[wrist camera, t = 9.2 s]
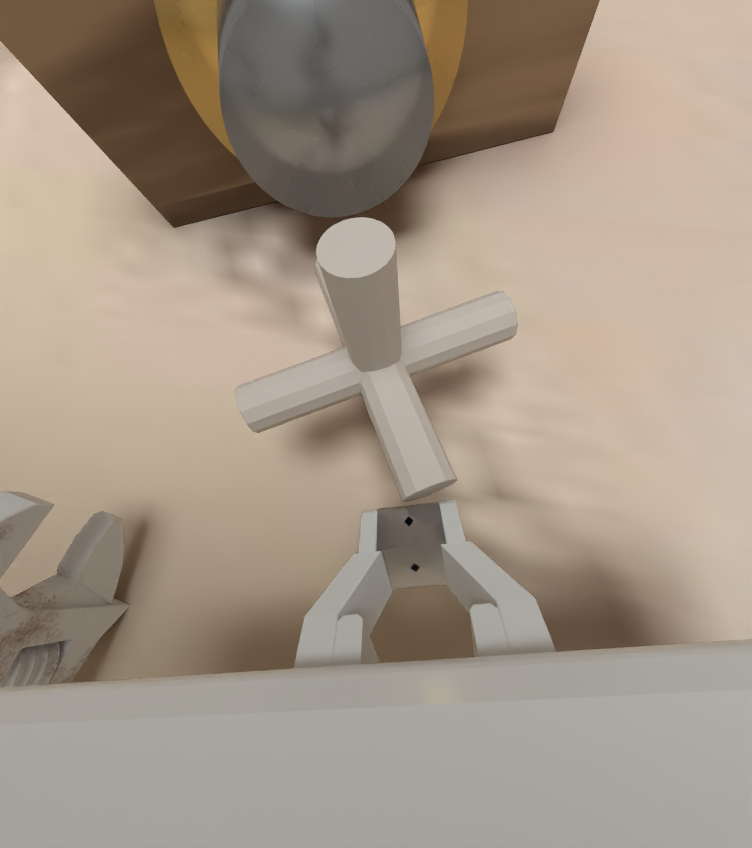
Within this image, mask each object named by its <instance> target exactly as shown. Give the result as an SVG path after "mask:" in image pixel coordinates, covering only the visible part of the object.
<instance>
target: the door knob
mask: <svg viewBox="0 0 752 848" xmlns="http://www.w3.org/2000/svg"><path fill="white" fill-rule="evenodd" d="M154 3H155V8H156V12H157V17H158V22H159V26H160V30H161V33H162V36H163V39H164V42H165V45H166V49H167V52H168V55H169V57H170V59H171V62H172V64H173V67H174V69H175V71H176V74H177V76H178V79H179V81H180V82H181V84H182V86H183V88H184V90H185V92H186V94H187V96H188V98H189V99H190V101H191V103H192V104H193V106H194V107H195V109H196V110H197V112H198V114H199V115H200V117H201V118H202V120H203V121H204V122H205V124H206V125H207V126H208V127H209V129H210V130H211V131H212V132H213V134H214V135H215V136H216V137H217V138H218V140H219V141H220V142H221V143H222V144H223V145H224V146H225V147H226V148H227V149H228V150H229V151H230V152H231V153H232V154H233V155H235V156H236V157H237V158H238V159H239V161H240V163H241V164H242V166H243V167H244V169H245V170H246V171H247V173H248V174H249V175H250V177H251V178H252V179H253V180H254V181H255V182H256V183H257V184H258V185H259V186H260V187H261V188H262V189H263V190H264V191H265V192H266V193H267V194H269V195H270V196H271V197H272V198H274V199H275V200H277V201H279V202H280V203H282V204H283V205H285V206H287V207H289V208H291V209H294V210H296V211H299V212H301V213H305V214H309V215H313V216H319V217H345V216H350V215H355V214H358V213H361V212H364V211H367V210H369V209H371V208H374V207H375V206H377V205H379V204H381V203H382V202H384V201H385V200H387V199H388V198H389V197H391V196H392V195H393V194H394V193H395V192H396V191H397V190H399V189H400V188H401V186H402V185H403V184H404V183H405V182H406V181H407V180H408V178H409V177H410V176H411V174H412V173H413V171H414V170H415V168H416V166H417V165H418V163H419V161H420V159H421V157H422V155H423V153H424V150H425V148H426V145H427V142H428V139H429V136H430V132H431V130H432V128H433V127H434V125H435V123H436V121H437V120H438V118H439V116H440V114H441V112H442V110H443V108H444V106H445V104H446V101H447V99H448V97H449V95H450V92H451V90H452V87H453V83H454V80H455V77H456V74H457V71H458V68H459V63H460V59H461V55H462V50H463V46H464V38H465V31H466V24H467V9H468V0H154Z"/></svg>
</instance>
